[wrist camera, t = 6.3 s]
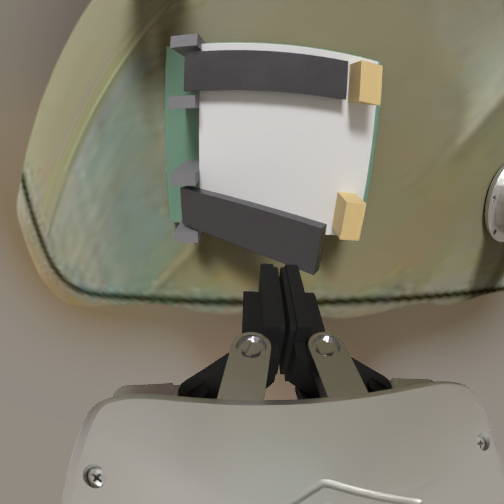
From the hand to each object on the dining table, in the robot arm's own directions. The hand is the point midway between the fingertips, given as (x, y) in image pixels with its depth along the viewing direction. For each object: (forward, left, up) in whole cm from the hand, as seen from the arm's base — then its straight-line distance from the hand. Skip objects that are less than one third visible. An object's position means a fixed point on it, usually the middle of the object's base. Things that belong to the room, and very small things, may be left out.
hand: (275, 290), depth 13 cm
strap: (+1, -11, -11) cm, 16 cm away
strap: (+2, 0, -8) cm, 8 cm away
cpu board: (0, -5, -16) cm, 17 cm away
